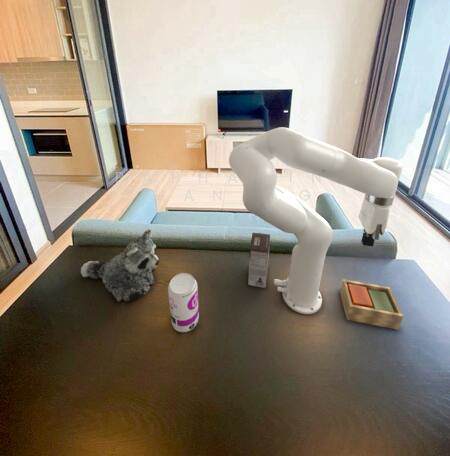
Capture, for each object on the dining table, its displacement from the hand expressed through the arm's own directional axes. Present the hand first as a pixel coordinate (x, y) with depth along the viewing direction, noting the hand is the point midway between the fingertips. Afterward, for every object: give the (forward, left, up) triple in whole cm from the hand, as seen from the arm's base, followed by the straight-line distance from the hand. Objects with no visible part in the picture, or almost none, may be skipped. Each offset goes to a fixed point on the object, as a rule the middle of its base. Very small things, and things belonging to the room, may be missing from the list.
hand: (366, 244), depth 82 cm
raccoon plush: (-82, -21, -16) cm, 86 cm away
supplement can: (-55, -28, -16) cm, 64 cm away
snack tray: (0, -12, -16) cm, 20 cm away
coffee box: (-35, -7, -16) cm, 39 cm away
